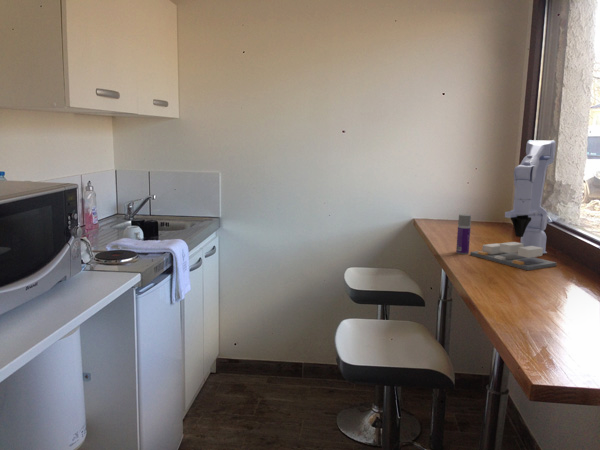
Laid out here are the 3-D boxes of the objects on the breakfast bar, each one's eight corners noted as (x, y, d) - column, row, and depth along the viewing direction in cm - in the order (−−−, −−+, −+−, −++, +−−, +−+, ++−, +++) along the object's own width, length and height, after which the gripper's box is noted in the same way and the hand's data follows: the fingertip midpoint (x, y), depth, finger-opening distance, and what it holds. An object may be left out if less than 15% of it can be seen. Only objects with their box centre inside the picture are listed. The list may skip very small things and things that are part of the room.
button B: (513, 249, 199) (514, 241, 198) (523, 251, 195) (524, 243, 195) (499, 250, 195) (500, 243, 195) (509, 253, 192) (509, 245, 191)
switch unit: (497, 251, 211) (497, 246, 211) (556, 265, 188) (556, 260, 188) (470, 255, 204) (470, 249, 203) (527, 270, 181) (528, 264, 181)
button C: (531, 253, 192) (532, 245, 192) (542, 255, 188) (543, 248, 188) (517, 255, 188) (518, 247, 188) (528, 257, 185) (528, 249, 184)
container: (469, 254, 204) (472, 216, 202) (456, 253, 205) (459, 215, 203) (468, 252, 209) (470, 214, 206) (455, 251, 210) (458, 213, 207)
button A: (495, 250, 206) (496, 243, 206) (505, 252, 202) (505, 245, 202) (482, 252, 203) (482, 244, 202) (491, 254, 199) (491, 247, 198)
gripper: (527, 197, 196) (523, 233, 198) (499, 198, 190) (496, 235, 192) (543, 199, 190) (540, 236, 192) (515, 200, 183) (512, 239, 186)
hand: (519, 236), depth 192 cm, fingers closed
